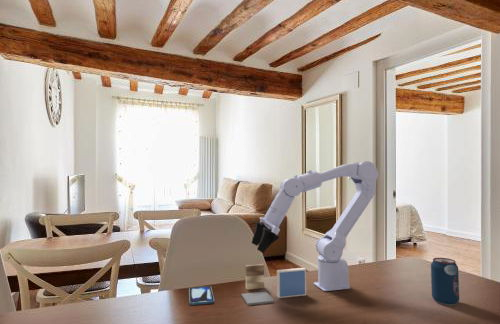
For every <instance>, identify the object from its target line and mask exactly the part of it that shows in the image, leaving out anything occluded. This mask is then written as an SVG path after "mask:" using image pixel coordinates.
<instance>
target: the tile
mask: <svg viewBox="0 0 500 324" xmlns="http://www.w3.org/2000/svg"><path fill="white" fill-rule="evenodd" d="M306 271H307V269H306V268H305V267H297V268H287V269H286V268H285V269H283V268H282V269H277V270H276V297H277V298H278V299H281V298H282V299H283V298H292V297H300V296H307V272H306Z"/></svg>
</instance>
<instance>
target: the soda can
mask: <svg viewBox="0 0 500 324" xmlns="http://www.w3.org/2000/svg"><path fill="white" fill-rule="evenodd" d="M456 261H457V260H455V259H451V258H446V257H434V258H432V262H431V263H430V275H431V276H430V277H431V280H430V283H431V284H430V285H431V297H432V299H433V300H434V301H435V303H437V304H439V305H444V306H456V305H458V303H459V302H460V283H459V282H460V281H459V280H460V279H459V266H458V264H457V263H456Z"/></svg>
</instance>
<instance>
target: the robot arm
mask: <svg viewBox="0 0 500 324" xmlns="http://www.w3.org/2000/svg"><path fill="white" fill-rule="evenodd" d="M379 175H380V174H379V171H378V169H377V166H376V165H375V163H374V162H372V161H369V160H367V161H362V162H358V161H356V162H352V163H345V164H341V165H339V166H338V165H337V166H336V167H332V168H331V169H328V170H325V171H322V172H318V171H317V170H313V171H312V170H307V171H306V173H303V174H300V175H297V174H295V175H293V177H291V178H286V179H284V180H283V181H282V182H281V184H280V189H279V190H278V193H277V194H276V195H275V197H274V199H273V200H272V202H271V204H270V206H269V208H268V210H267V211H266V213H265V215H264V216H262V217H261V216H260V217H259V220H260V221H259V222H258V221H255V226H254V227H255V229H254V232H253V236H252V239H251V244H253V245H255V246H256V247H257V251H259V252H261V253H264V252H266V250H267V249H268V248H269V247H270V246H271V245H273V243H275V242H276V241H277V240H279V239H280V236H278V235H279V232H280V231H281V229H280V225H281V223H282V222H283V220H284V218H285V216H286V215H287V213H288V211H289V210H290V207H291V205H292V204H293V201H294V200H295V197H298V196H300V195H301V193H306V192H309V191H312V190H315V189H318V188H320V187H321V186H322V184H323V183H324V182H328V181H330V180H334V179H338V178H341V177H346V178H348V177H349V178H350V179H351V181H352V182H353V183H354V185H355V189H356V192H355V194H354V195H353V197H352V198H351V200H350V201H349V203H348V204H347V206H346V207H345V209H344V210H343V212H342V213H341V215H340V216H339V218H338V219H337V221H336V222H335V223H334V225H333V227H331V229H329V230H328V231H326V232H325V234H324V235H323V236H322V237H320V238H319V239H317V241H316V243H315V248H316V251H317V253H318V256H317V275H318V276H317V278H318V279H317V280H318V281H314V282H313V285H315V286H316V287H317V288H319V289H320V290H321V291H323V292H329V291H330V292H331V291H340V290H349V289H351V286H350V275H349V273H350V272H349V271H350V270H349V265H348V262H347V261H346V259H344V258H342V256H343V254H344V253H343V251H344V248H345V247H346V245H347V243H346V242H347V241H346V240H347V239H346V238H347V237H348V235H349V234H350V232H351V231H352V229H353V227H355V225H356V223H357V222H358V221H359V218H360V217H361V216H362V215H363V213H364V211H365V210H366V208H367V207H368V206H369V204H370V202H371V201H372V199H373V198H374V196H375V194H376V187H377V179H378V177H379Z"/></svg>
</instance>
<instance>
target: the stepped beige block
mask: <svg viewBox="0 0 500 324" xmlns="http://www.w3.org/2000/svg"><path fill="white" fill-rule="evenodd" d="M244 267H245V289H246V290H256V289H264V288H265V265H264V263H258V264H256V263H253V264H245V266H244Z"/></svg>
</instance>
